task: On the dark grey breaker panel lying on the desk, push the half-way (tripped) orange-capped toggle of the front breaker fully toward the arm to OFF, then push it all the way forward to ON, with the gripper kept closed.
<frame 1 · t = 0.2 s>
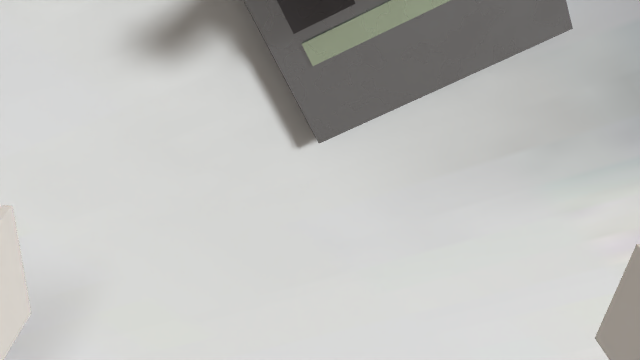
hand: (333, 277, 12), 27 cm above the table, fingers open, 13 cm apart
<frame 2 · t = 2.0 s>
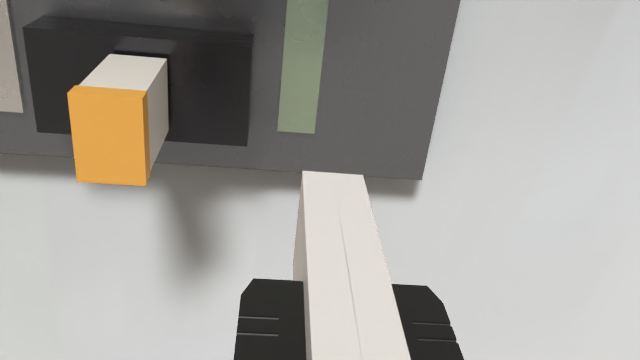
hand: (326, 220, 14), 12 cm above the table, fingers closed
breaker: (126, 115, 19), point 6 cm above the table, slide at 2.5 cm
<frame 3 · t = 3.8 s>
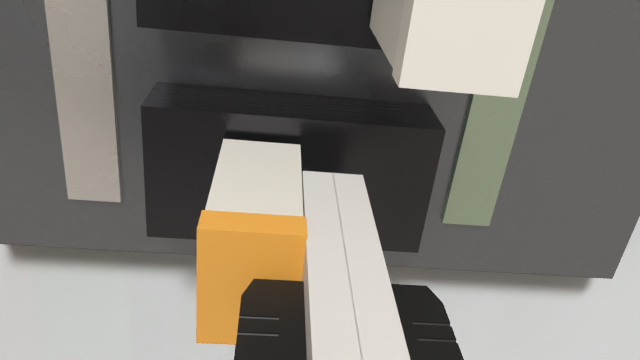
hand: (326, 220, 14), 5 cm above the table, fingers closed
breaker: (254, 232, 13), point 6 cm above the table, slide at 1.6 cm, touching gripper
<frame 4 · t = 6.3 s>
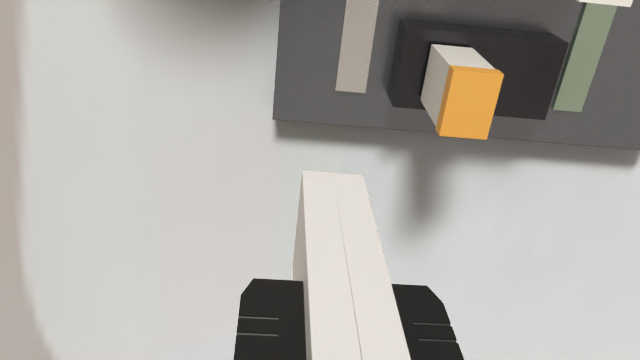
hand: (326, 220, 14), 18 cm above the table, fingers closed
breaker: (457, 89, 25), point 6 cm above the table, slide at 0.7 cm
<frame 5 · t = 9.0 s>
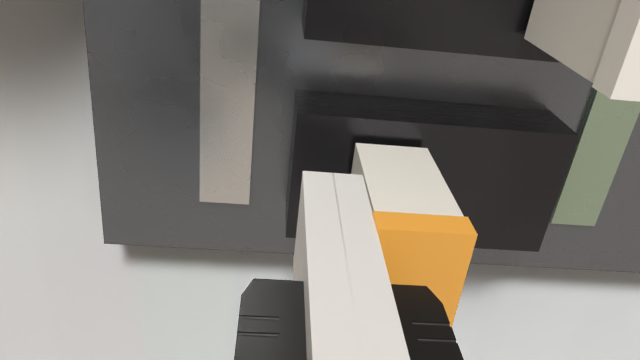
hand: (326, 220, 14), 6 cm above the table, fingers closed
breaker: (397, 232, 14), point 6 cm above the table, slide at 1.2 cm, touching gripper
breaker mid: (628, 1, 12), point 6 cm above the table, slide at 5.0 cm
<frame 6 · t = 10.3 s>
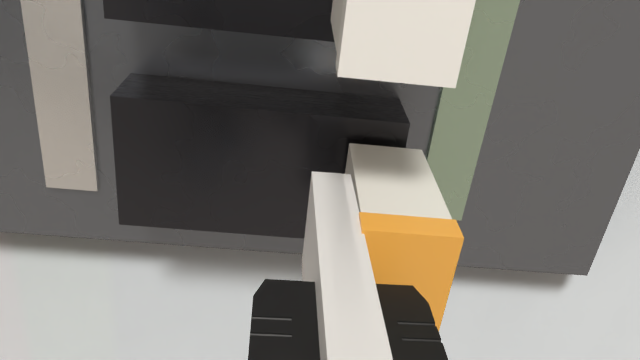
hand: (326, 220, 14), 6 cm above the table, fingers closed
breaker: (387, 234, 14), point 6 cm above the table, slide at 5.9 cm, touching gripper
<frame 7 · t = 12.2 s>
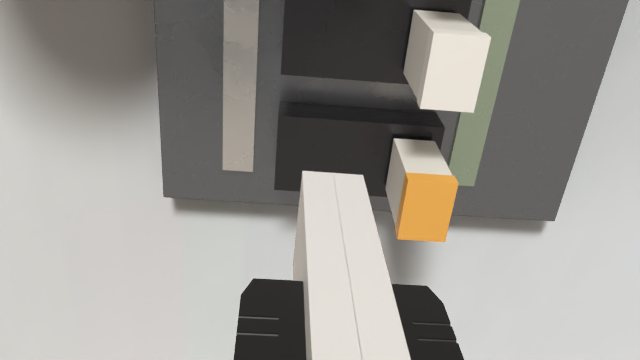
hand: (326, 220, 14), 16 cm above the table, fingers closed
panel: (382, 42, 28), on the table
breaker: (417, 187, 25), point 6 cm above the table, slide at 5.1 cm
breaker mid: (441, 57, 23), point 6 cm above the table, slide at 5.0 cm
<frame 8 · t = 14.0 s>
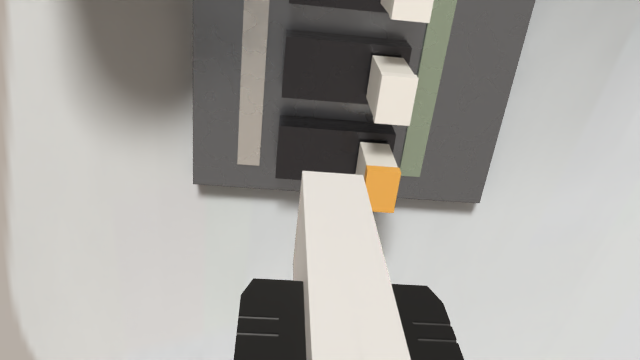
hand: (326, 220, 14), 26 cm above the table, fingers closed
panel: (353, 73, 40), on the table
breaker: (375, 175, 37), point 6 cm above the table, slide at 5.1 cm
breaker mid: (390, 88, 34), point 6 cm above the table, slide at 5.0 cm
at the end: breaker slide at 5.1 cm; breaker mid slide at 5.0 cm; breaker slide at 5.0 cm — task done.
